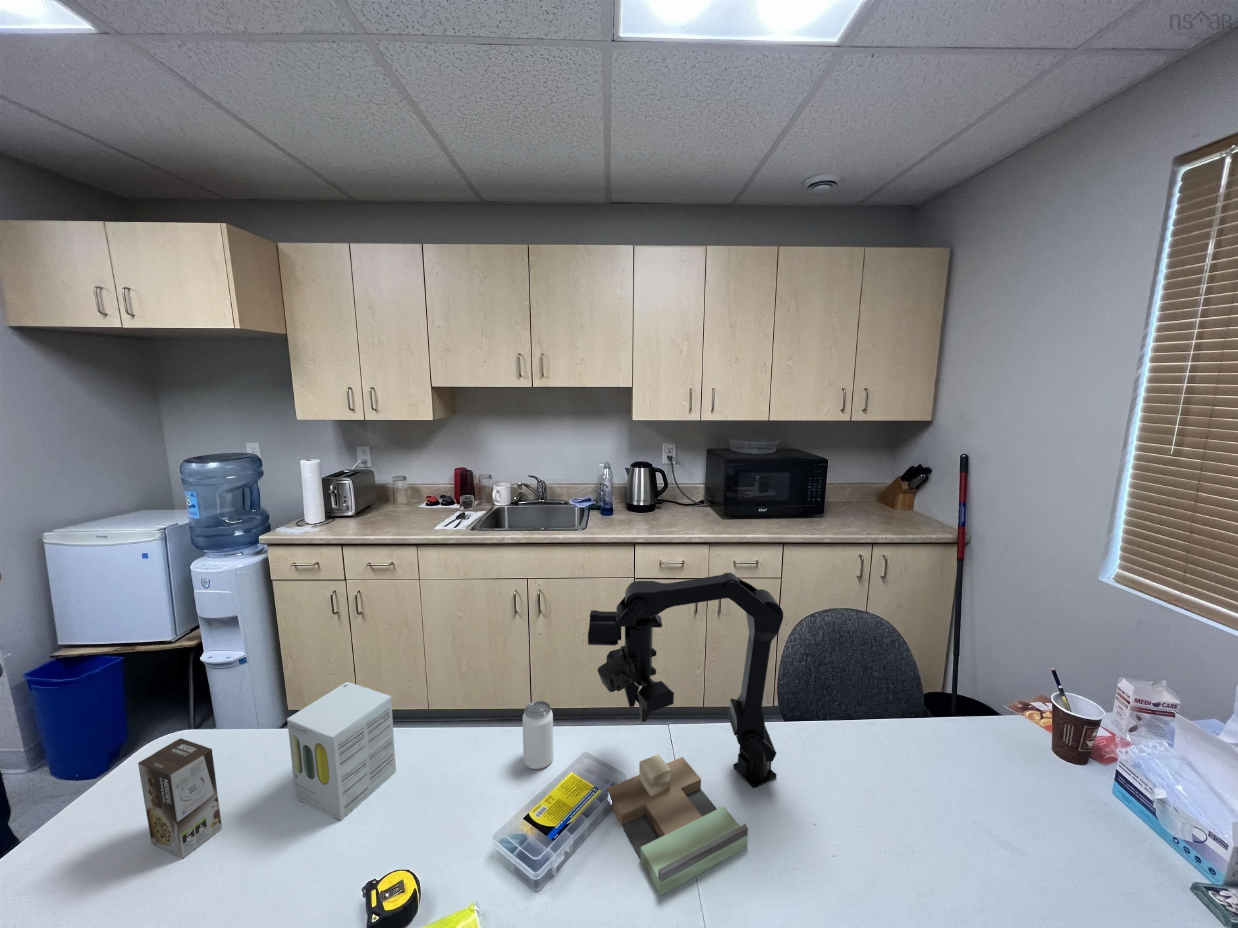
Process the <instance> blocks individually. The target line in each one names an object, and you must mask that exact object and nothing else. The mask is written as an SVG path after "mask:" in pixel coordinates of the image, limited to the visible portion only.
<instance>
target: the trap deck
mask: <svg viewBox="0 0 1238 928" xmlns="http://www.w3.org/2000/svg"><path fill="white" fill-rule="evenodd" d="M666 764H667V765H668V767H669V768H670V769H671V778H670V788H669V789H666V790H664V791H662V792H660V793H657V794H655V795H653V796H650V795H649V793H648V792H647V790H646V789H645V787H644V786H643V784H642V783H641V781H640V780H639V774H638V775H636V776H633V777H630V778H629V779H625V780H624V781H620V782H618V783H616V784H614V785H612V786H611V785H610V786H609V787H607V788H606V791H607V790H608V792H609V794H610V797H611V800H612V805H611V806H610V807H611V809H612V811H613V813H614V816H616V818H617V820H618V822H619V824H620V825H621V827H622V829H623V831H624V833H625V834H626V835H625V836H627V838H628V840H629V842H630V843H631V846H632V847H633V849H634V851H635V853H636V854H637V856H638V858H639V859H640V861H641V864H642V866H643V867H644V869H645V870H646V872H647V874H648V876H649V878H650V879H651V881H652V883H653V885H654V887H655V889H656V891H657V892H658V894H659V896H663V895H665V894H666V893H668V892H670V891H672V890H673V889H675V888H677V887H680V886H681V885H683V884H684V883H686V882H688V881H691V880H692V879H693V878H695V877H697V876H699V875H700V874H702V873H704V872H706V871H707V870H709V869H711V868H713V867H715V866H716V865H718V864H720V863H722V862H723V861H725V860H727V859H729V858H731V857H732V856H734V855H737V854H738V853H740V852H741V851H743V850H745V849H747V848H748V837H749V836H748V833H749V827H748V825H747V824H745V823H744V824H742V825H740V824H739V823H738V822H737V820H736V819H735V818H734V817H733V816H732V814H731V813H730V812H729V811H728V810H727V808H726V807H725V806H724V805H722V806H721V807H719V808H717V807H716V806H715V804H714V803H713V802H712V800H711V799H710V798H709V797H708V796H707V795H706V794H705V792H704V791H703V790H702V778H701V777H700V776H699V774H697V773H696V771H695V770H694V768H692V766H691V765H690V764H689V763H688V761H687V760H686V759H685V758H684V757H683V756H681V757H679V758H677V759H674V760H672V761H669V762H667V763H666ZM619 783H620V784H619Z"/></svg>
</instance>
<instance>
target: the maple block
mask: <svg viewBox="0 0 1238 928" xmlns="http://www.w3.org/2000/svg"><path fill="white" fill-rule="evenodd" d="M638 768H639V769H638V772H639V774H638V775H639V780H640V781H641V783H642V784H643V786H644V787H645V789H646V790H647V792H648V793H649V795H650V796H653V795H655V794H657V793H660V792H662V791H664V790H666V789H669V788H670V778H671V769H670V768H669V767H668V765H667V763H666V762H665V760H664V759H663V758H662V756H661V755H660V753H658V754H655V755H653V756H650V757H647V758H645V759H642V760H640V761H639V767H638Z"/></svg>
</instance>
